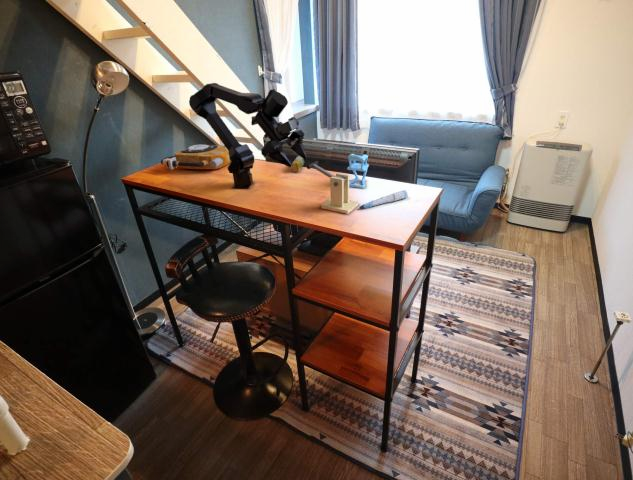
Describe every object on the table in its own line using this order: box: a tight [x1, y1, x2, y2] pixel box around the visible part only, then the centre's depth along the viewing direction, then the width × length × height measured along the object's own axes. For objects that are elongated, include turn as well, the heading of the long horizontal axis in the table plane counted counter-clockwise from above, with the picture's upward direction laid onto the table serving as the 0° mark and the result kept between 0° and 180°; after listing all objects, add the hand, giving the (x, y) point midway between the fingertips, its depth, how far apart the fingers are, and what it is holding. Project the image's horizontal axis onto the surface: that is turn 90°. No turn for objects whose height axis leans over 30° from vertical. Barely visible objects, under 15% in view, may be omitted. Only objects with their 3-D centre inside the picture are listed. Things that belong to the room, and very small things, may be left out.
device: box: [160, 144, 231, 170], centre depth 158 cm, size 23×8×30 cm
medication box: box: [291, 155, 305, 173], centre depth 152 cm, size 12×3×4 cm, turn 171°
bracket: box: [320, 172, 359, 215], centre depth 114 cm, size 10×8×11 cm
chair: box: [346, 153, 370, 189], centre depth 131 cm, size 8×8×12 cm
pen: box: [358, 189, 409, 209], centre depth 116 cm, size 19×3×3 cm, turn 118°
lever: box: [306, 160, 346, 183], centre depth 113 cm, size 13×6×2 cm, turn 59°
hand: (299, 162), depth 117 cm, fingers open, 9 cm apart
